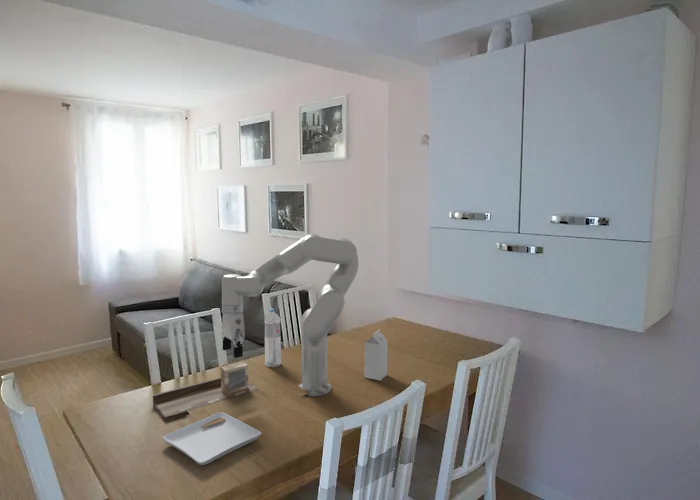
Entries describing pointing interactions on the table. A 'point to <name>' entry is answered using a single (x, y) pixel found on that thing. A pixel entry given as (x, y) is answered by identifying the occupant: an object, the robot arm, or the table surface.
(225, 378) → the picture frame
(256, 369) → the table surface
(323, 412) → the table surface
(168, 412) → the picture ledge
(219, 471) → the table surface
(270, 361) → the water bottle
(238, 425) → the salad plate
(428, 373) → the table surface
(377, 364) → the milk carton
